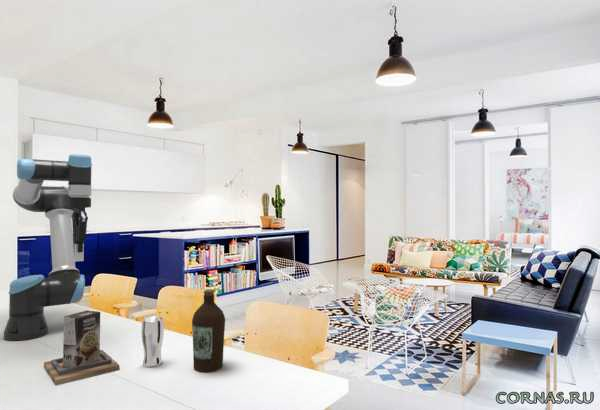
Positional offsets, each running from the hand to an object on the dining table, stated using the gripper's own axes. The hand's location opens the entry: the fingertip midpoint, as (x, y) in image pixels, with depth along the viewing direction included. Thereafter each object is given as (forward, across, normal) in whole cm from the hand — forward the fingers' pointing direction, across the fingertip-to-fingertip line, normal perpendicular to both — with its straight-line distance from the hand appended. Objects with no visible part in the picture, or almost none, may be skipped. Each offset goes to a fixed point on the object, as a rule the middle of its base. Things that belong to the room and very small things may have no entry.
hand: (79, 260), depth 154 cm
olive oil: (+32, +46, +28) cm, 63 cm away
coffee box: (+31, +21, -4) cm, 37 cm away
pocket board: (+32, +21, -4) cm, 39 cm away
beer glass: (+32, +32, +15) cm, 48 cm away
